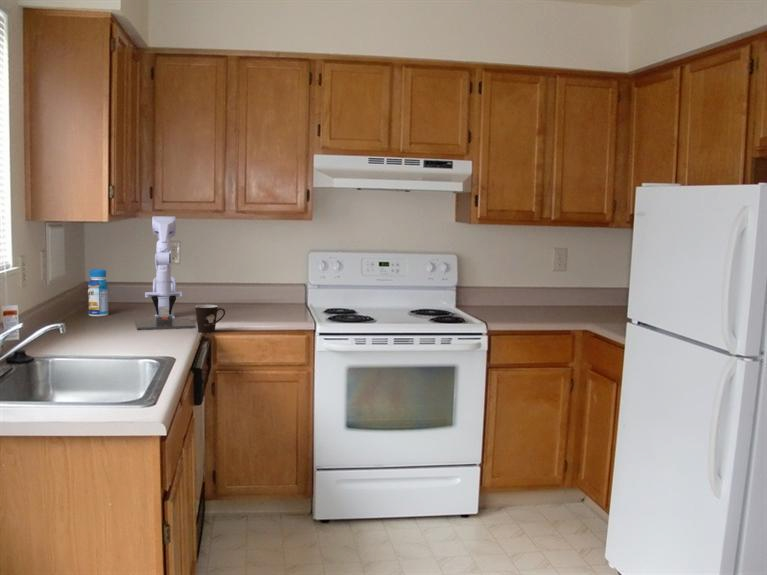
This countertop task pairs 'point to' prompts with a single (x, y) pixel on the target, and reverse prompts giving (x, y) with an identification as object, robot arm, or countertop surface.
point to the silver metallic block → (164, 311)
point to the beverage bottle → (98, 293)
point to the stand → (163, 323)
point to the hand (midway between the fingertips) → (163, 314)
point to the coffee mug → (207, 317)
